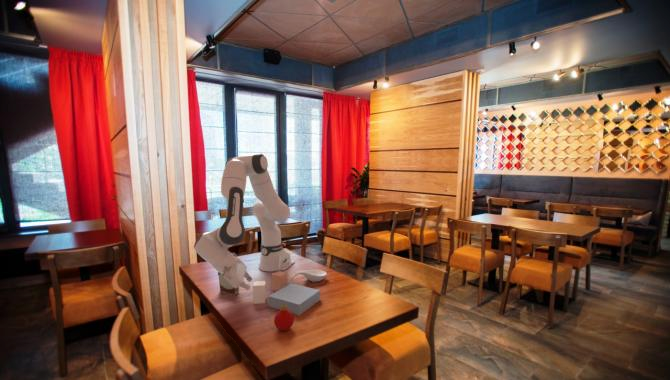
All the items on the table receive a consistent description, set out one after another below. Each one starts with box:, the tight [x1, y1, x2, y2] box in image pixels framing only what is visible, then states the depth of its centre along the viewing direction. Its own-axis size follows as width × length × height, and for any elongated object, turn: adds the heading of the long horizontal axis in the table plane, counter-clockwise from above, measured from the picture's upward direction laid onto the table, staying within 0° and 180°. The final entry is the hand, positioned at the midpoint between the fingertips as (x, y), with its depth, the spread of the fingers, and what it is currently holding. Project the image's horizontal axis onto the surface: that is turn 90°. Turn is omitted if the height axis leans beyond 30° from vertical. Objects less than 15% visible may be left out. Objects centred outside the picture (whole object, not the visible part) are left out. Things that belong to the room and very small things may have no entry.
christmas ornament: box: [273, 303, 295, 332], centre depth 109 cm, size 7×7×10 cm
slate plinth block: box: [267, 282, 321, 316], centre depth 130 cm, size 16×16×5 cm
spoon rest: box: [287, 269, 328, 285], centre depth 153 cm, size 24×12×7 cm, turn 133°
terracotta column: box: [271, 270, 288, 292], centre depth 144 cm, size 5×5×8 cm
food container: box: [217, 271, 240, 296], centre depth 141 cm, size 12×6×10 cm, turn 65°
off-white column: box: [252, 280, 266, 305], centre depth 132 cm, size 5×5×8 cm
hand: (250, 284), depth 131 cm, fingers open, 8 cm apart
